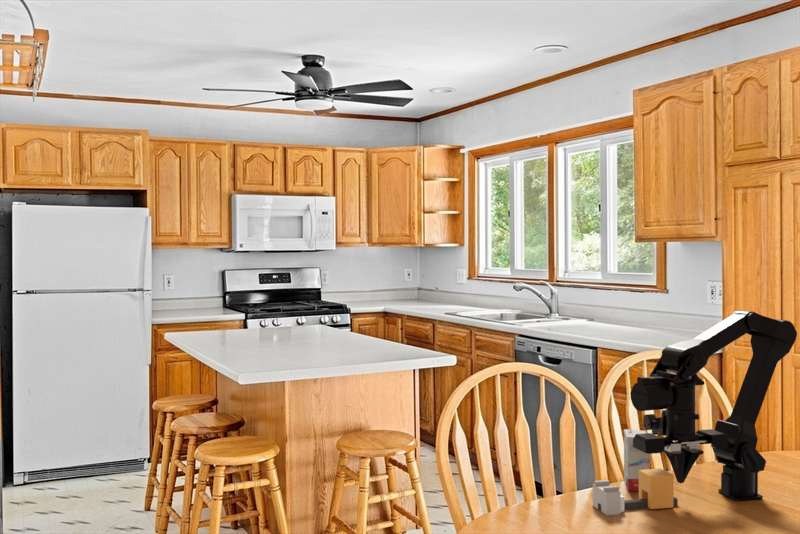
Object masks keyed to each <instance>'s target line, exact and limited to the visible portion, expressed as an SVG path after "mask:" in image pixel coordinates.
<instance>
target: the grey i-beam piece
mask: <svg viewBox="0 0 800 534" xmlns="http://www.w3.org/2000/svg"><path fill="white" fill-rule="evenodd" d="M621 495H622V494H621V490H620V486H619V485H610V480H608V479H606V480H605V479H604V480H601V479H600V480H594V481H593V483H592V507H594V508H595V509H597V510H598V504H601V506H599V507H601V510H600V511H599V512H601V513H603V514H604V515H605V516H606V517H607V516H617V515H618V516H619V515H621V513H622V512H621Z"/></svg>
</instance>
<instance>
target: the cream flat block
mask: <svg viewBox="0 0 800 534" xmlns="http://www.w3.org/2000/svg"><path fill="white" fill-rule="evenodd" d="M624 500H625V496H624V495H622V494H621V513H624V512H625V510H624Z"/></svg>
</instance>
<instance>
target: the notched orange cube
mask: <svg viewBox="0 0 800 534" xmlns="http://www.w3.org/2000/svg"><path fill="white" fill-rule="evenodd" d="M673 497H674V473H670V472H668V471H666V470H664V469H662V468H650V469H645V470H639V491H638V499H648V508H647V509H650V510H658V509H670V508H674V506H673Z"/></svg>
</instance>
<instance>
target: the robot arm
mask: <svg viewBox="0 0 800 534" xmlns="http://www.w3.org/2000/svg"><path fill="white" fill-rule="evenodd" d="M744 335H749V336H750V342H749V343H750V346H751V350H752V356H751V359H750V361H749V362H750V363H749V365H748V367H747V369H746V373H745V375H744V378H743V382H742V383H741V387H740V390H739V392H738V395H737V397H736V399H735V403H734V406H733V409H732V411H731V414H730V415H729V417H727V418H726V419H725V420H721V419H718V420H717V421H716V423H715V426H714V429H711V428H710V429H709V428H708V429H698V430H696V420H700V414H699V413H696V387H697V386H704V385H705V381H704V380H703V379H702V378H701V377H699V376H698V373H699V372H700V371H701V370H702V369H703V368H704V367H705V366H706V365H707V364H708V361H709V359H710V358H711V357H712V356H713V355H715V354H716V353H717V352H719V351H721V350H722V349H724V348H726V347H727V346H728V345H730V344H732V343H734V342H735V341H737V340H738V339H740V338H742V337H743V336H744ZM797 336H798V331H797V330H796V327H795V325H794V324H793V322H791V321H790V320H787V319H786V320H785V319H775V318H772V317H768V316H764V315H762V314H760V313H757V312H755V311H751V310H750V311H749V310H736V311H733V313H731V315H730V316H728V317H726V318H725V319H724V320H721V321H720V322H718V323H716V324H715V325H714V326H712V327H710V328H709V329H707V330H705V331H704V332H702V333H701V334H699V335H697V336H696V337H694V338H690V339H685V340H681V341H676V342H675V343H672V344H669V345H667V346H665V347H664V348H663V349H662V351H661V356H660V357H659V359H658V360H657V363H656V364H655V365H654V368H653V369H652V371H651V372H650V375H649V376H637V378H636V383H635V384H633V386H632V388H631V391H630V394H629V395H630V400H631V403H632V406H633V407H634V409H636V411H638V412H646V411H647V412H648V411H657V410H662V411H661V416H660V417H656V415H655V414H654V413H652V414H651V413H649V414H644V415H643V420H642V424H643V429H644V431H651V432H649V433H647V432H646V433H645V434H636V435H635V437H634V438H633V447H634V448H636V449H638V450H640V451H642V452H644V453H648V454H650V455H653V454H662V453H664V454H665V456H666V457H667V459H668V461H669V463H670V465H671V468H672V471H673V475H674V476H675V477H674V478H675V479H676V481H677V483H679V484H684V483H685V481H686V479H687V477H688V476H689V474H690V471H691V470H692V468H693V466H694V465H695V462H696V461H698V458H699V457H700V455H704V450H702V449H700V448H701V447H700V445H710V447H711V448H712V451H713V452H714V453H713V454H714V455H715V458H716V462H717V463H719V464H723V465H722V472H721V474H720V475H721V476H720V488H719V489H718V490H717V491H718V493H721V494H722V495H725V496H726V497H729V498H731V499H733V500H735V501H746V500H748V501H749V500H756V499H757V500H758V499H763V498H764V496H763V495H762V494H760V493H759V489H758V488H759V481H758V480H759V479H758V478H759V473H760V472H763V471H765V468H766V464H767V460H766V459H765V457H763V456H762V454H761V453H760V451H758V449H757V444H758V440H759V439H758V435H757V429H756V422H757V419H758V416H759V414H760V411H761V408H762V406H763V403H764V400H765V398H766V395H767V392H768V389H769V387H770V384H771V380H772V378H773V375H774V372H775V370H776V368H777V364H778V362H780V361H781V360H782V359H783V358H784V357H786V356H787V355H788V354H789V353H790V351H791V350H792V348H793V346H794V344H795V343H796V340H797ZM658 434H659V435H661V436H665V437H661V436H658Z"/></svg>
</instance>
